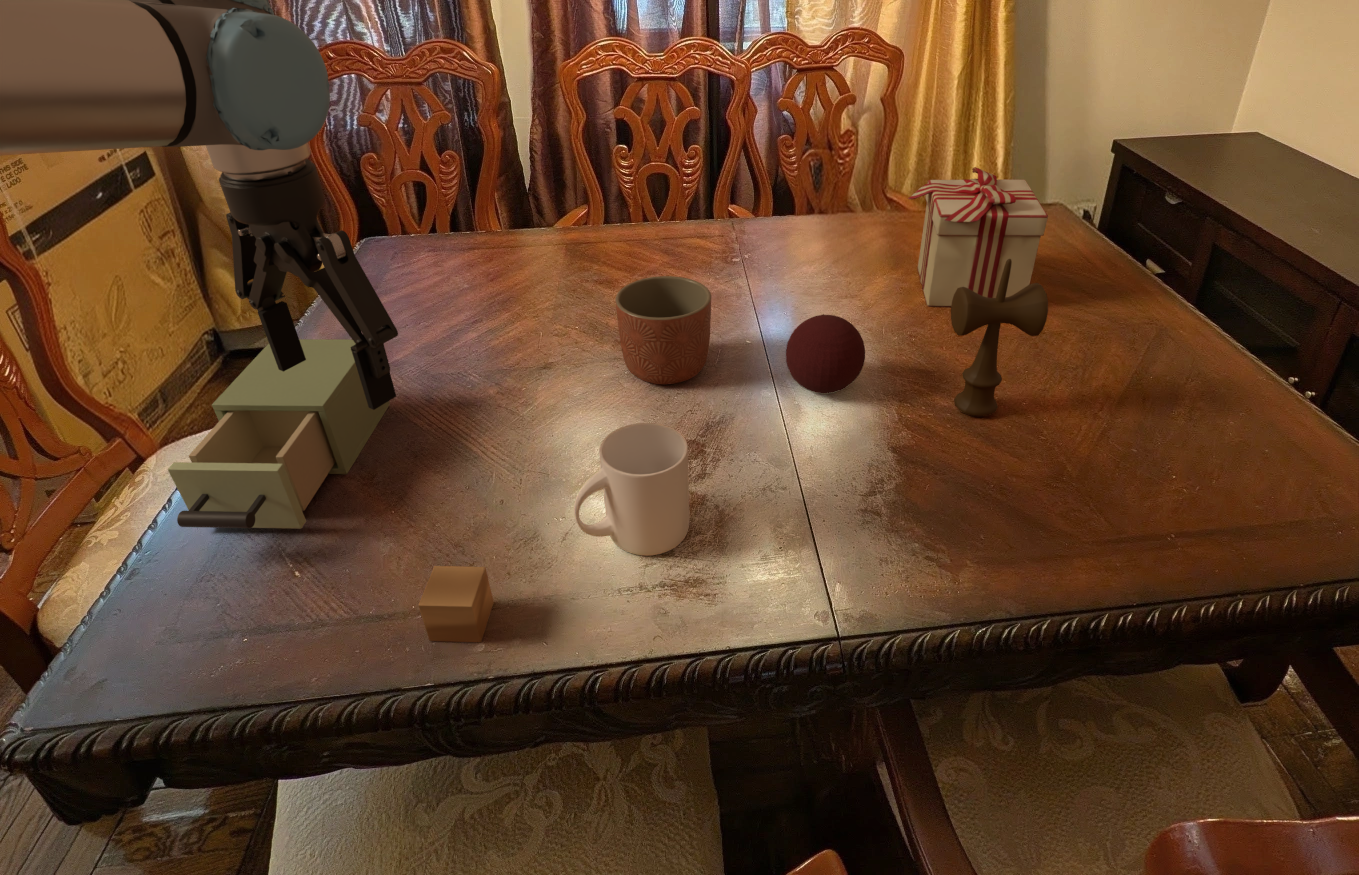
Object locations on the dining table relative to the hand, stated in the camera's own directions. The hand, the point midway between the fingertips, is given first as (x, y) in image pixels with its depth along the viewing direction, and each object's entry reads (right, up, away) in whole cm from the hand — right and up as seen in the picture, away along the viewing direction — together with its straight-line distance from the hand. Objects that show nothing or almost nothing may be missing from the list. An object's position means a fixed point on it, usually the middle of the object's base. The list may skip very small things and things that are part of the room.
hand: (336, 383), depth 79 cm
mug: (+29, -16, +4) cm, 33 cm away
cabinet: (-10, -5, +20) cm, 23 cm away
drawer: (-11, -12, +9) cm, 19 cm away
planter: (+32, +4, +31) cm, 45 cm away
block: (+14, -22, -5) cm, 27 cm away
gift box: (+78, +18, +48) cm, 93 cm away
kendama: (+71, -2, +21) cm, 74 cm away
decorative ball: (+53, +1, +26) cm, 59 cm away
